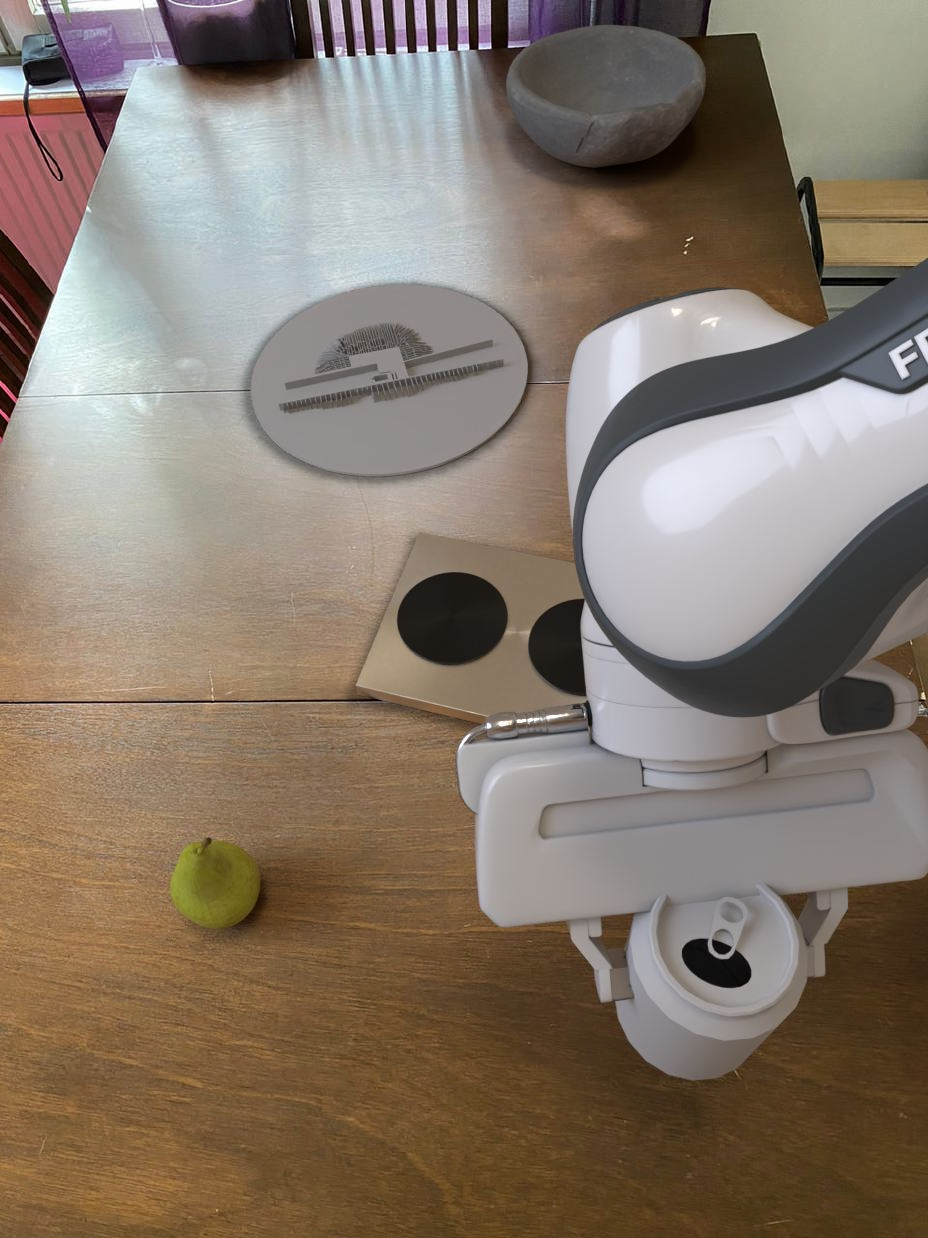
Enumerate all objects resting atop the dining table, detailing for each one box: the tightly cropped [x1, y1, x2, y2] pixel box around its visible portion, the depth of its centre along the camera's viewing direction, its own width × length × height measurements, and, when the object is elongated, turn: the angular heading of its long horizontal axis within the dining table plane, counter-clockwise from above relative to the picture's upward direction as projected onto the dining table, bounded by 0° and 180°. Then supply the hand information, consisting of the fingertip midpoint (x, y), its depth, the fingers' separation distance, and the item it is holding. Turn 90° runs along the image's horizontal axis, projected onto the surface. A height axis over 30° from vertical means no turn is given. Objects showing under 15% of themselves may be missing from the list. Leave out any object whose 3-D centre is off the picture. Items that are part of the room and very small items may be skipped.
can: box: [614, 884, 808, 1081], centre depth 45 cm, size 8×8×12 cm
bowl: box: [505, 24, 707, 169], centre depth 115 cm, size 23×22×10 cm
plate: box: [250, 283, 529, 478], centre depth 97 cm, size 28×28×1 cm
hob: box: [355, 531, 590, 732], centre depth 78 cm, size 22×16×2 cm
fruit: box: [169, 837, 261, 930], centre depth 63 cm, size 6×6×12 cm
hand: (709, 983), depth 44 cm, fingers closed on can, 7 cm apart
